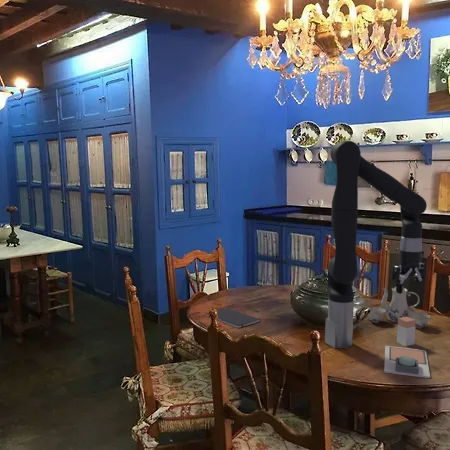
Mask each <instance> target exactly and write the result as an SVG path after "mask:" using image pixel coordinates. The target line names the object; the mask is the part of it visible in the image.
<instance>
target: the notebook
mask: <svg viewBox="0 0 450 450" xmlns="http://www.w3.org/2000/svg"><path fill="white" fill-rule="evenodd" d="M216 311H217V312H218V320H219V322H221V323H224V324H226V325H229V326H231V327H234V328H237V329H239V328H243V327H246V326H250V325H252V324H256V323H259V322H261V318H258V317H255V316H252V315H249V314H246V313H243V312H241V311H237V310H235V309H232V308H229V307H225V308H221V309H217V310H216ZM206 316H207V317H208V318H210V317H209V312H206ZM218 320H217V321H218Z"/></svg>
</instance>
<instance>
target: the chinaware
mask: <svg viewBox="0 0 450 450" xmlns="http://www.w3.org/2000/svg"><path fill="white" fill-rule="evenodd" d="M382 290H383V292H384V293H383V296H382V298H381V301H380V307H379V306H372V307H369V308H370V309H371V312H370V313H369V314H368V315H367V316H368V317H367V318H368V319H369V320H370V321H371V322H372V323H376V324H378V323H380V321H381V320H383V318H384V316H386V317H387V320H388V321H390V322H392V323H397V324H398V318H402V317H409V318H412V319H414V320H416V323H415V329H424V327H427V325H428V326H433V324H434V322H435V320H434V318H432V315H431V314H427V313H426V312H417V311H415V310H416V307H417V306H418V305H419V304H420V296H419V295H418V294H417V293H416V292H413V291H408V289H407V288H404V286H403V290H402V294H399V293H397V291H396V286H395V287H391V290H392V291H391V292H392V298H391V301H390V304H389V305H388V304H387V300H388V292H389V291H388V290H387V289H386V288H385V287H382ZM411 294H413V295H415V296H416V297H417V302H416V304H414V305H409V306H408V303H407V302H408V301H407V296H408V297H411ZM429 320H432V323H430V324H428V322H429Z"/></svg>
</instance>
